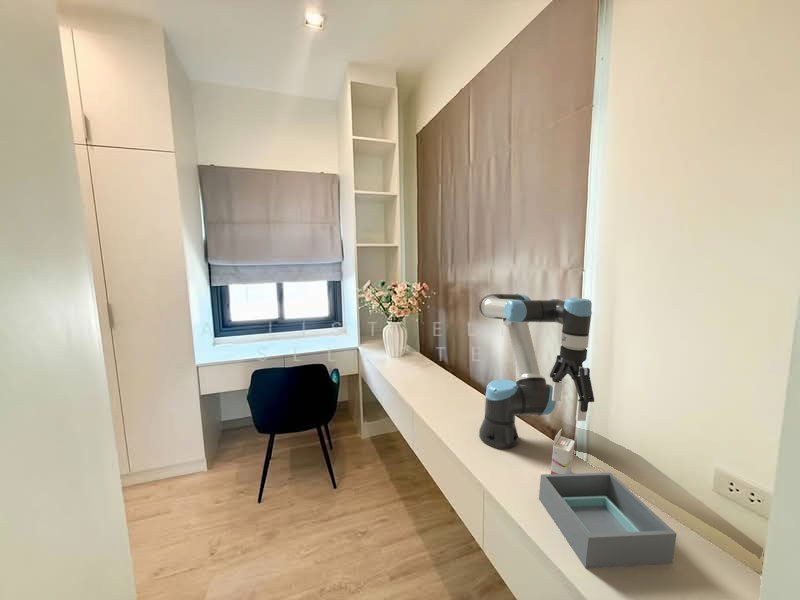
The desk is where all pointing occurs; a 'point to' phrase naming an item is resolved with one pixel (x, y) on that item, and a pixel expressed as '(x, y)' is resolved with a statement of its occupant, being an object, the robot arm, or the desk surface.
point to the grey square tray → (605, 521)
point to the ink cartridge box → (562, 455)
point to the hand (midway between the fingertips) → (567, 409)
